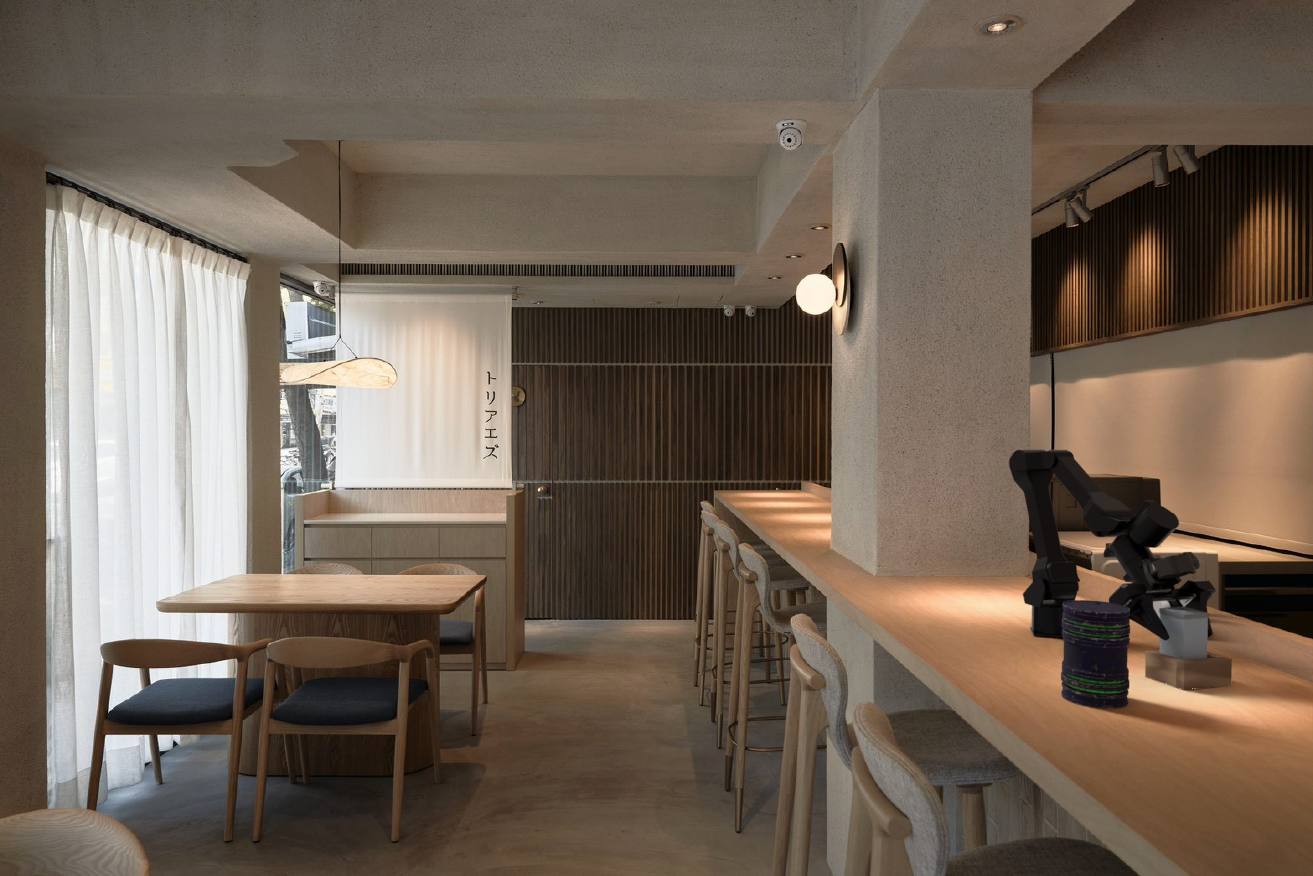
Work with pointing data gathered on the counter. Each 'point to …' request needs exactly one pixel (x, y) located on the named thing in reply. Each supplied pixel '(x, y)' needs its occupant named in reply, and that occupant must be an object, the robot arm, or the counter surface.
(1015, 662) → the counter surface
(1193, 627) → the rail post
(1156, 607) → the hinge
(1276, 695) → the counter surface
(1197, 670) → the block
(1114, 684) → the storage jar
